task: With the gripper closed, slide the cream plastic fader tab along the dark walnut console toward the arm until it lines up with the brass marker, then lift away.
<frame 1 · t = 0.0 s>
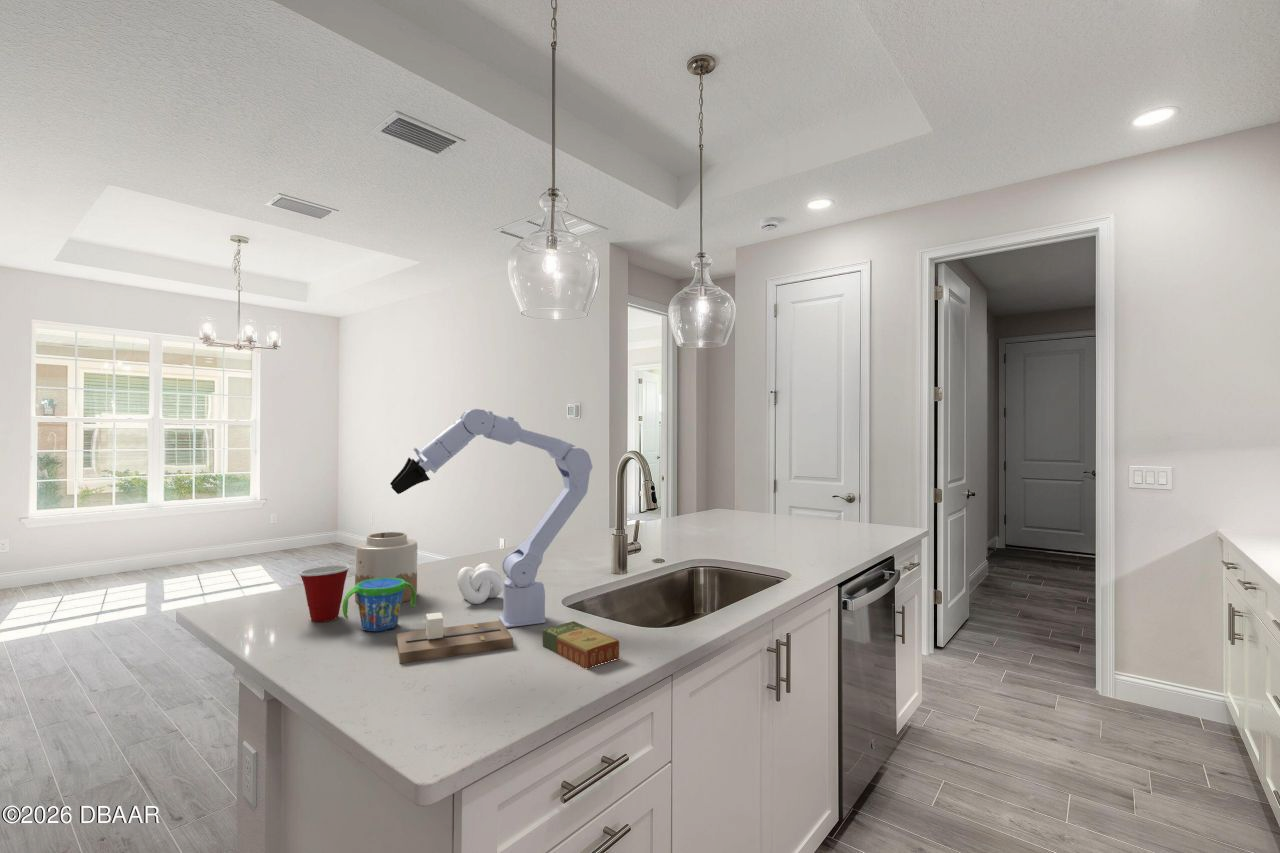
hand: (393, 489, 131), 32 cm above the worktop, tool tilted 50°, fingers open, 7 cm apart
carton: (579, 655, 124), on the worktop
plastic cup: (324, 619, 144), on the worktop
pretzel: (481, 600, 160), on the worktop
vase: (386, 598, 161), on the worktop
fader tab: (434, 625, 125), point 5 cm above the worktop, slide at 0.0 cm
snack cup: (380, 628, 138), on the worktop
fader console: (454, 644, 127), on the worktop
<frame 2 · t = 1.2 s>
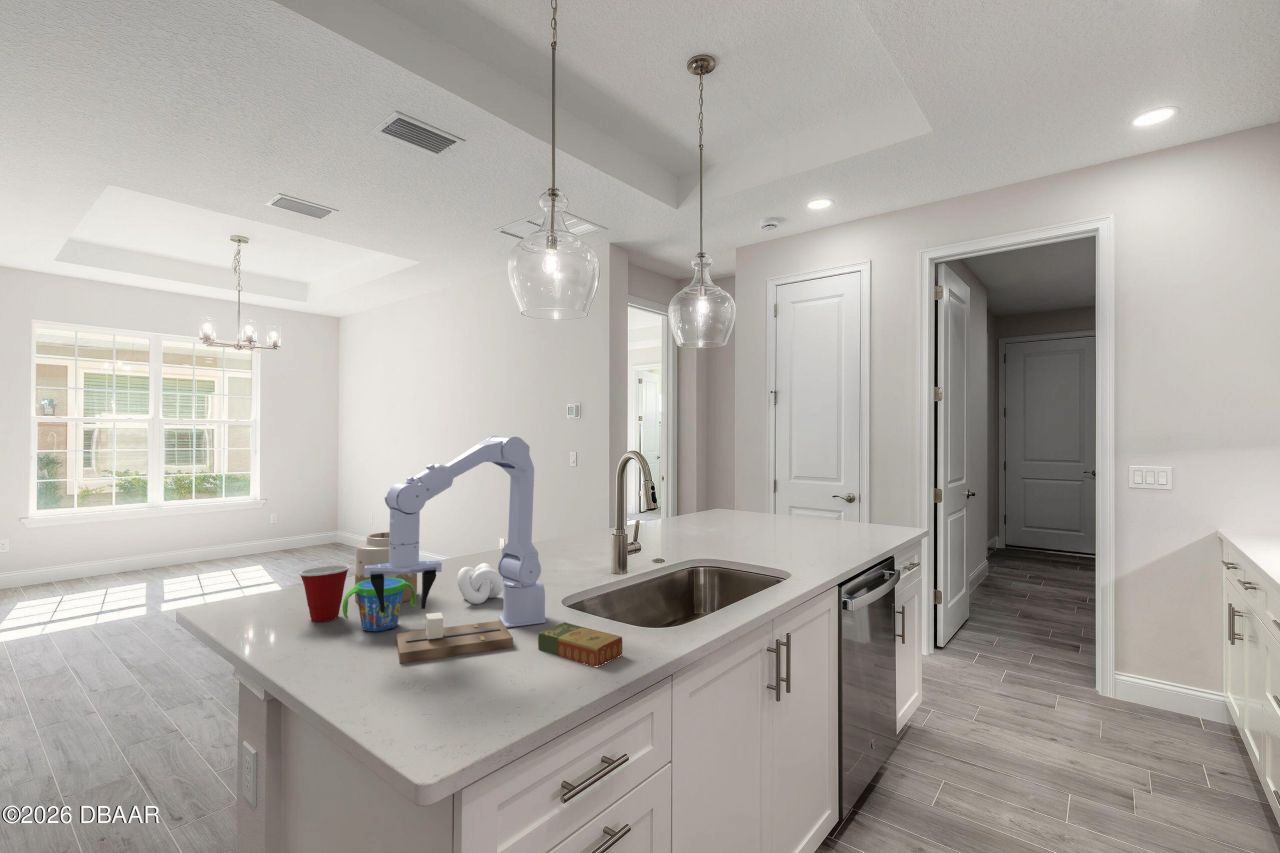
hand: (403, 609, 123), 9 cm above the worktop, tool pointing down, fingers open, 7 cm apart
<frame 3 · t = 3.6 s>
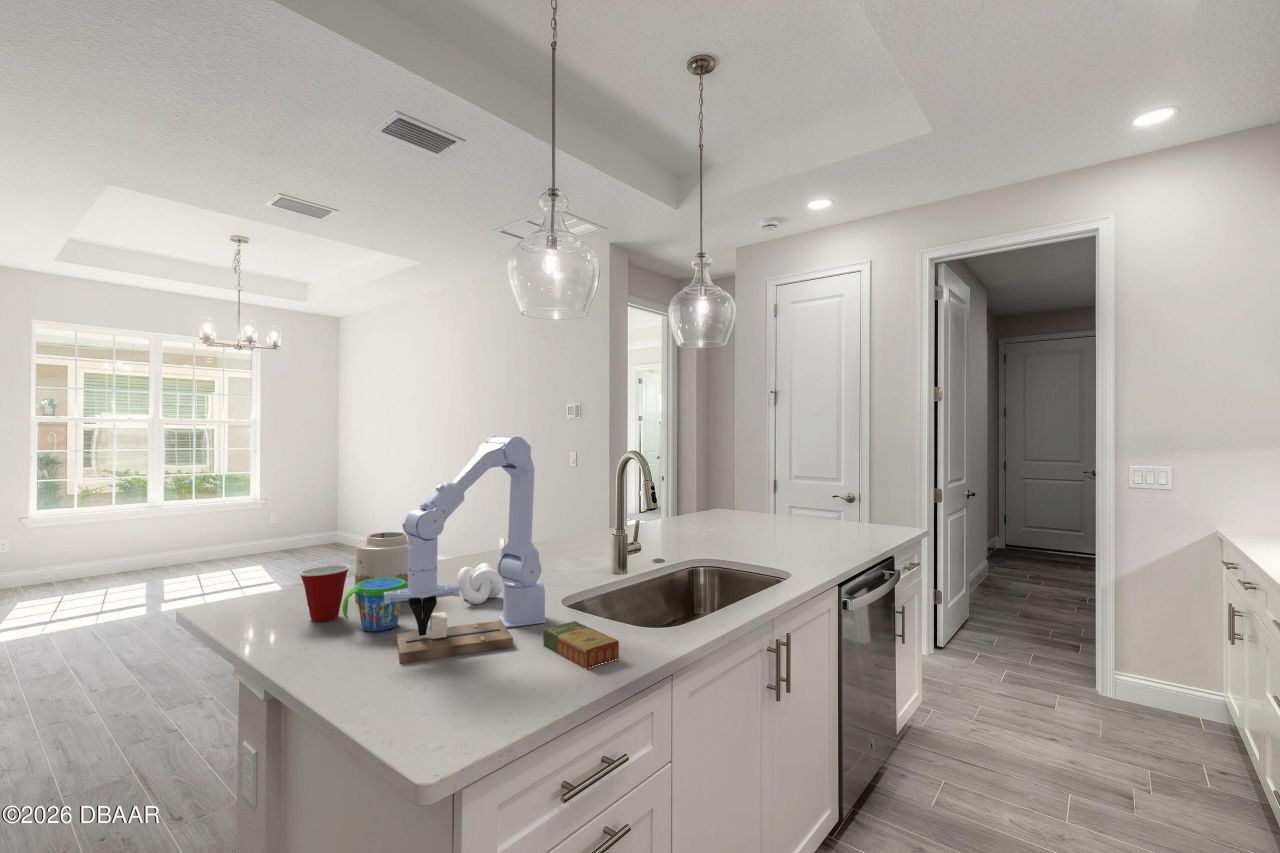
hand: (422, 633, 124), 3 cm above the worktop, tool pointing down, fingers closed
fader tab: (438, 625, 126), point 5 cm above the worktop, slide at 0.7 cm, touching gripper
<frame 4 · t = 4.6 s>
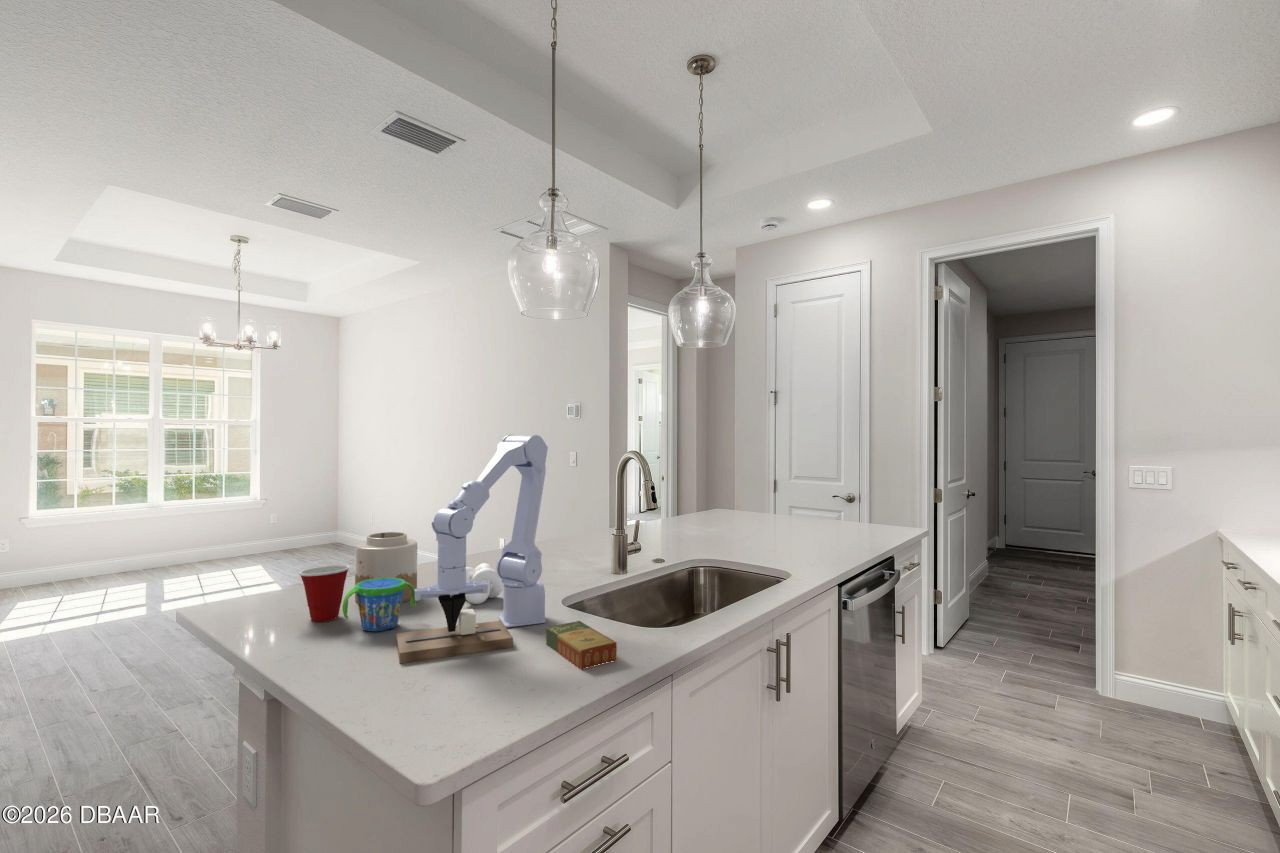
hand: (451, 630, 127), 3 cm above the worktop, tool pointing down, fingers closed
fader tab: (466, 621, 128), point 5 cm above the worktop, slide at 6.5 cm, touching gripper
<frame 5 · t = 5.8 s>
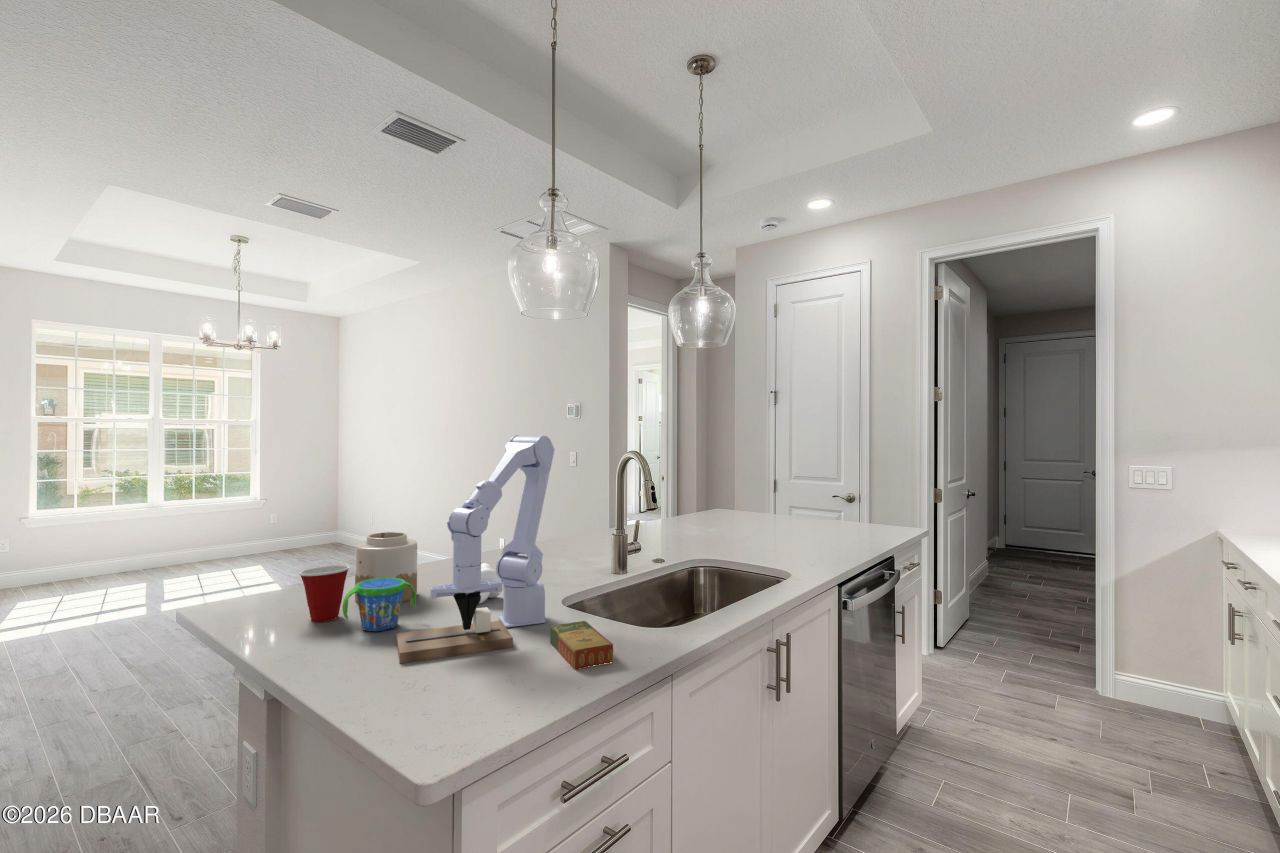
hand: (466, 628, 128), 3 cm above the worktop, tool pointing down, fingers closed
fader tab: (481, 619, 129), point 5 cm above the worktop, slide at 9.6 cm, touching gripper
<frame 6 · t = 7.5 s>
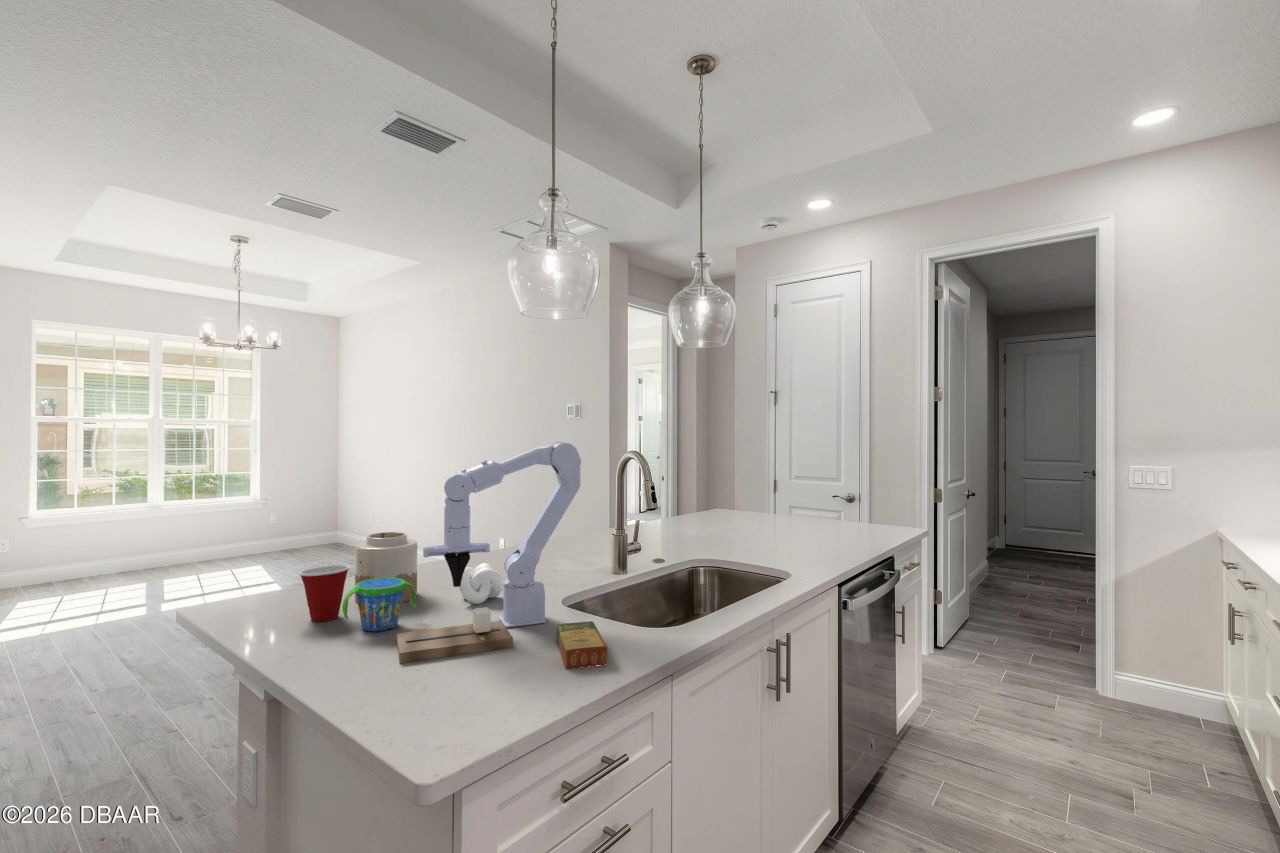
hand: (456, 585, 138), 9 cm above the worktop, tool pointing down, fingers closed
fader tab: (481, 619, 129), point 5 cm above the worktop, slide at 9.6 cm
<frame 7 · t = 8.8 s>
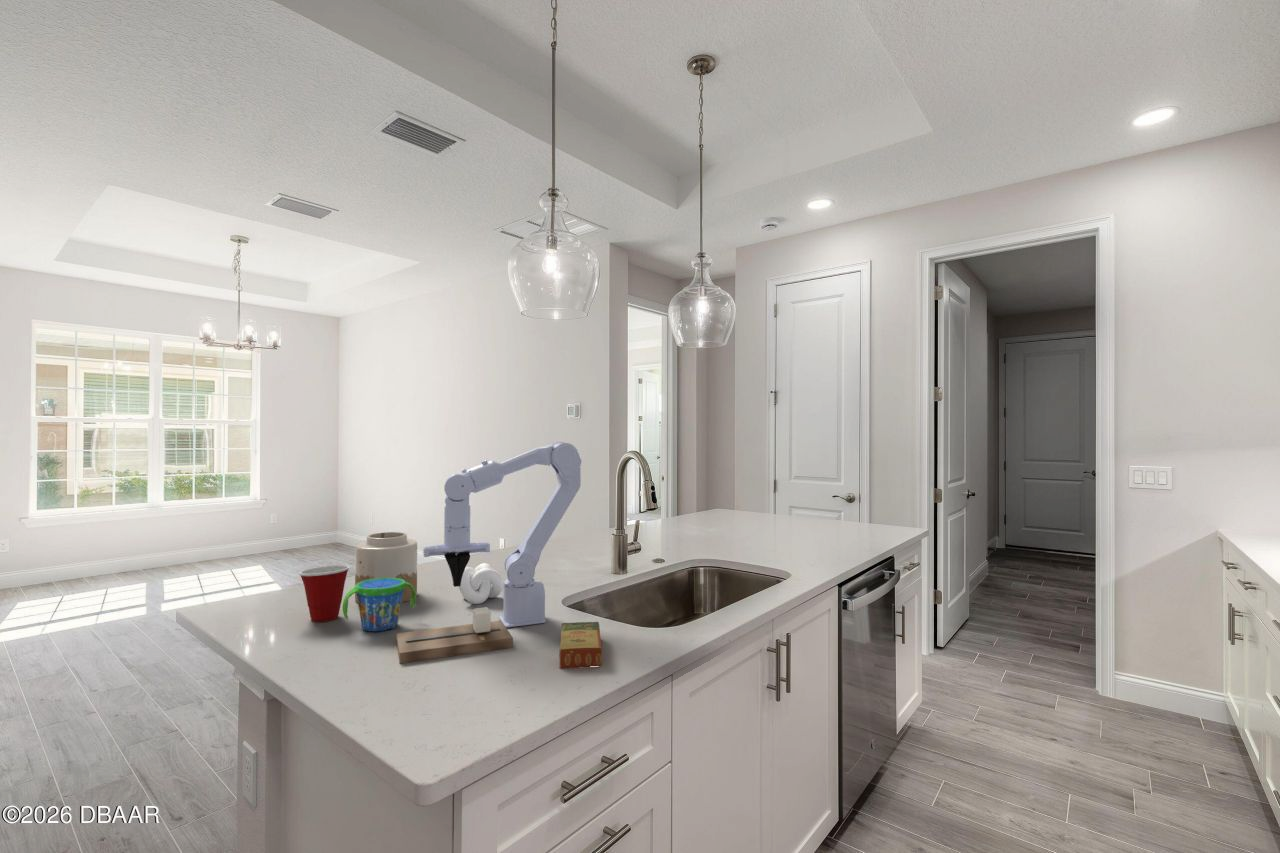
hand: (456, 585, 139), 9 cm above the worktop, tool pointing down, fingers closed
at the end: fader tab slide at 9.6 cm; snack cup moved 0.2 cm from its start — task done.
